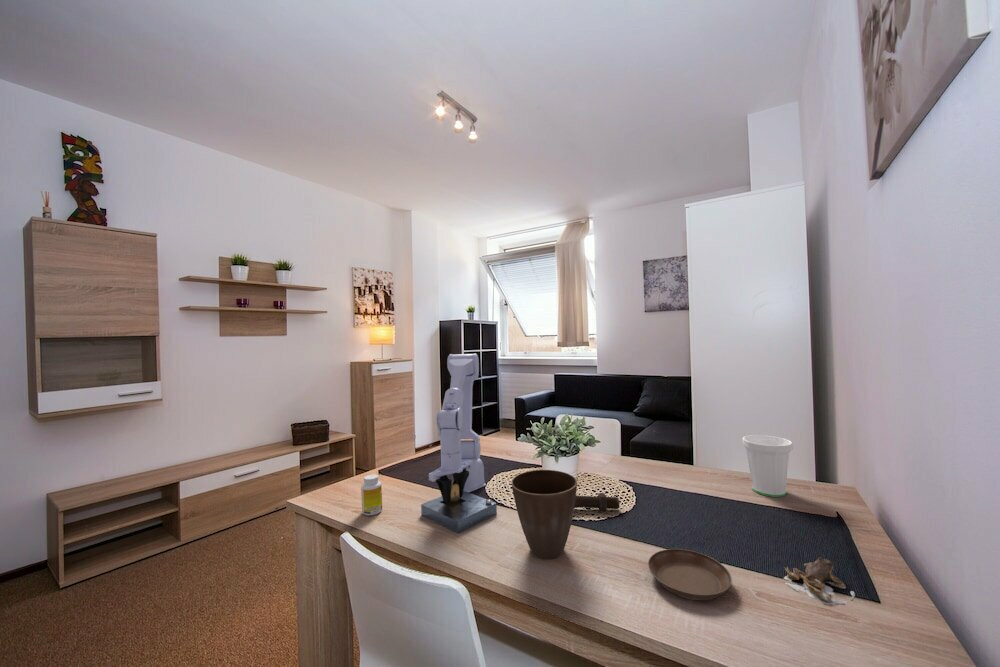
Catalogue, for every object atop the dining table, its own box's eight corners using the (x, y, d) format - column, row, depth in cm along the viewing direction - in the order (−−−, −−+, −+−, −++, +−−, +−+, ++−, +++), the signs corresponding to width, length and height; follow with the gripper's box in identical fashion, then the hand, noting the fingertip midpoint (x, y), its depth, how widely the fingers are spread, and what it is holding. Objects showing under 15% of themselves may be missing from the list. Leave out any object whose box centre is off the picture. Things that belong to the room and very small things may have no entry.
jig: (459, 498, 122) (459, 486, 122) (496, 513, 110) (496, 500, 110) (421, 515, 112) (420, 501, 112) (458, 533, 100) (457, 518, 100)
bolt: (619, 518, 109) (564, 515, 111) (616, 502, 113) (563, 500, 115) (621, 504, 106) (564, 501, 108) (618, 488, 111) (563, 486, 112)
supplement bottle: (385, 512, 114) (384, 476, 114) (366, 518, 111) (365, 481, 111) (377, 506, 119) (376, 472, 119) (359, 511, 115) (358, 476, 115)
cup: (746, 480, 127) (744, 433, 127) (794, 488, 120) (792, 437, 120) (742, 494, 117) (740, 442, 117) (795, 503, 109) (792, 448, 109)
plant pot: (573, 575, 81) (570, 497, 81) (505, 563, 86) (502, 490, 86) (584, 538, 95) (581, 472, 95) (524, 530, 100) (522, 467, 100)
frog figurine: (795, 560, 84) (795, 542, 84) (868, 592, 73) (867, 571, 73) (764, 578, 79) (764, 558, 79) (838, 614, 68) (837, 592, 68)
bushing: (453, 503, 116) (452, 479, 116) (463, 507, 113) (462, 482, 113) (443, 508, 113) (442, 483, 113) (452, 512, 110) (451, 486, 110)
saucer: (693, 619, 68) (692, 603, 68) (632, 573, 82) (632, 559, 82) (750, 593, 74) (749, 579, 74) (684, 554, 88) (684, 542, 88)
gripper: (439, 460, 105) (441, 512, 105) (479, 447, 115) (481, 494, 115) (423, 455, 110) (425, 504, 110) (463, 443, 120) (465, 488, 120)
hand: (452, 499), depth 113 cm, fingers closed on bushing, 4 cm apart
